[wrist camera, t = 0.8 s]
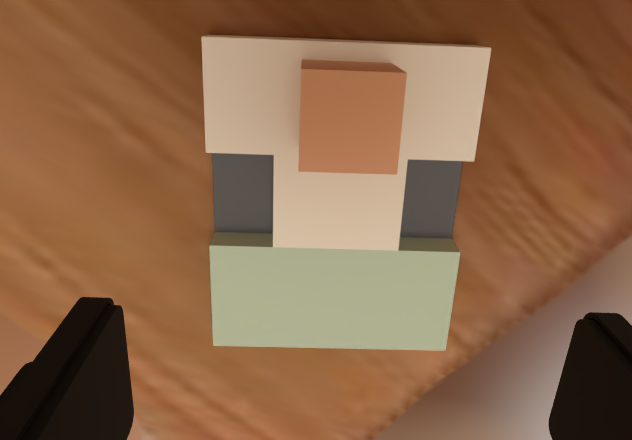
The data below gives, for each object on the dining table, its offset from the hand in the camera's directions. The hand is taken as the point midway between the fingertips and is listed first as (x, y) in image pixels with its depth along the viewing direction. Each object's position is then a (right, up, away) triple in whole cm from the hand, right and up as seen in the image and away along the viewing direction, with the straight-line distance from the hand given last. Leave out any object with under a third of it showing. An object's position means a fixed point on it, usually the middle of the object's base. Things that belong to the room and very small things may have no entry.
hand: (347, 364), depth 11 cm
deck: (+1, +4, +24) cm, 25 cm away
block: (+1, +10, +20) cm, 22 cm away
